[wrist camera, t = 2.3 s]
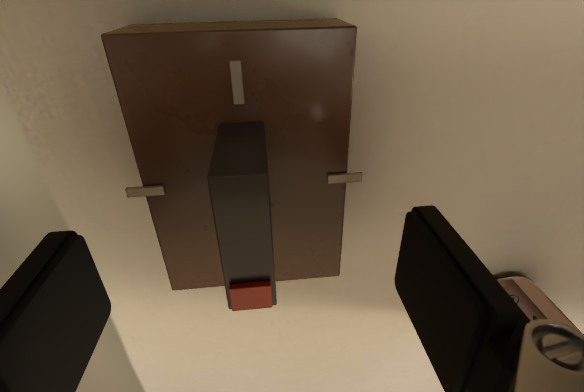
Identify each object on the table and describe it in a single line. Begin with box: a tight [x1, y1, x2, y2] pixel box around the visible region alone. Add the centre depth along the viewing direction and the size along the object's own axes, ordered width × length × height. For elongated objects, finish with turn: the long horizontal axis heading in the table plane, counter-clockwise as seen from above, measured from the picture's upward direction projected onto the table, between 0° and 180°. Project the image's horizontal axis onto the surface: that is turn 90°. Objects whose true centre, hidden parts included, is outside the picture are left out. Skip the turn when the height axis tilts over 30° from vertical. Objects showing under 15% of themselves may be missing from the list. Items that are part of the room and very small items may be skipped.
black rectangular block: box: [207, 122, 277, 311], centre depth 12 cm, size 5×2×4 cm, turn 1°
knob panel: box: [101, 18, 363, 290], centre depth 15 cm, size 11×9×3 cm
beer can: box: [496, 276, 582, 333], centre depth 18 cm, size 5×5×12 cm
